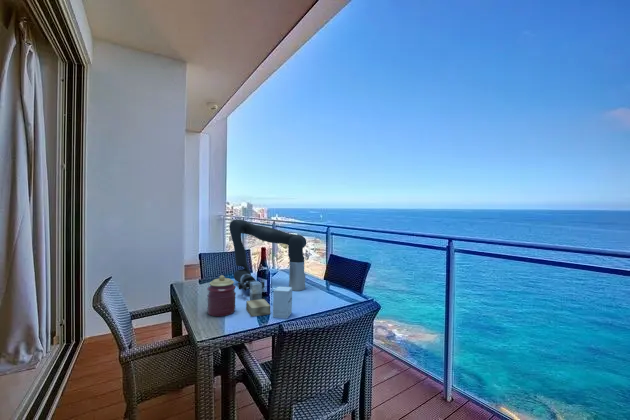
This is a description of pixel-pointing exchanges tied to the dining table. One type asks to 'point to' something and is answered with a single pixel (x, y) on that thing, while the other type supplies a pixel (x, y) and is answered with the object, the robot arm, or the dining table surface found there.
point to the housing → (255, 290)
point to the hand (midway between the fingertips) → (253, 288)
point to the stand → (257, 307)
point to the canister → (221, 297)
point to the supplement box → (282, 302)
